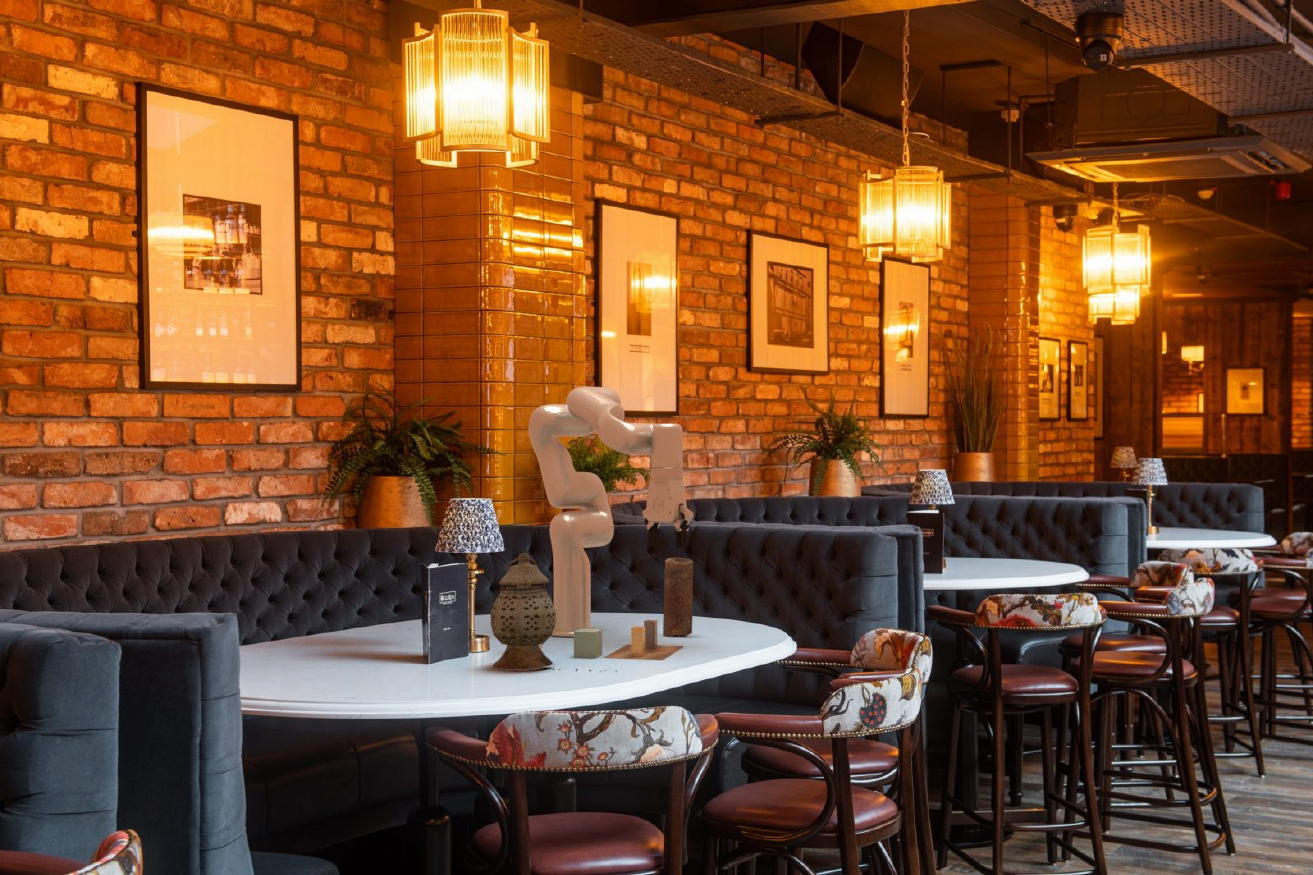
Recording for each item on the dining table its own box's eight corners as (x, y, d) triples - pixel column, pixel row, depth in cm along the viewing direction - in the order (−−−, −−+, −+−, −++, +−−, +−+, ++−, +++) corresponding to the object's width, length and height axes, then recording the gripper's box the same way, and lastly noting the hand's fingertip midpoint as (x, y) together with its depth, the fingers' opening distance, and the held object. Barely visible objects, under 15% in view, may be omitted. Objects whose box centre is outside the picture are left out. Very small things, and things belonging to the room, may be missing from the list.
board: (602, 661, 309) (602, 657, 309) (627, 647, 331) (627, 644, 331) (663, 663, 306) (663, 660, 306) (684, 649, 327) (684, 646, 327)
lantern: (478, 669, 298) (478, 554, 299) (512, 660, 311) (511, 549, 312) (535, 673, 293) (535, 556, 293) (566, 664, 306) (566, 551, 306)
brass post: (631, 656, 311) (631, 627, 312) (634, 654, 314) (634, 626, 314) (642, 656, 311) (642, 628, 311) (645, 655, 313) (645, 626, 313)
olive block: (573, 660, 310) (573, 631, 310) (580, 657, 315) (580, 628, 315) (595, 661, 309) (595, 632, 309) (602, 658, 314) (602, 629, 314)
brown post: (644, 648, 323) (644, 621, 323) (646, 647, 326) (646, 619, 326) (654, 649, 323) (654, 621, 323) (657, 647, 325) (657, 620, 325)
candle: (694, 635, 351) (694, 557, 352) (692, 639, 344) (691, 559, 344) (664, 635, 352) (664, 557, 352) (661, 639, 345) (661, 559, 345)
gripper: (632, 475, 332) (632, 546, 332) (679, 475, 319) (679, 549, 318) (655, 474, 337) (656, 544, 336) (703, 475, 324) (703, 548, 323)
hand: (667, 547), depth 327 cm, fingers open, 9 cm apart
